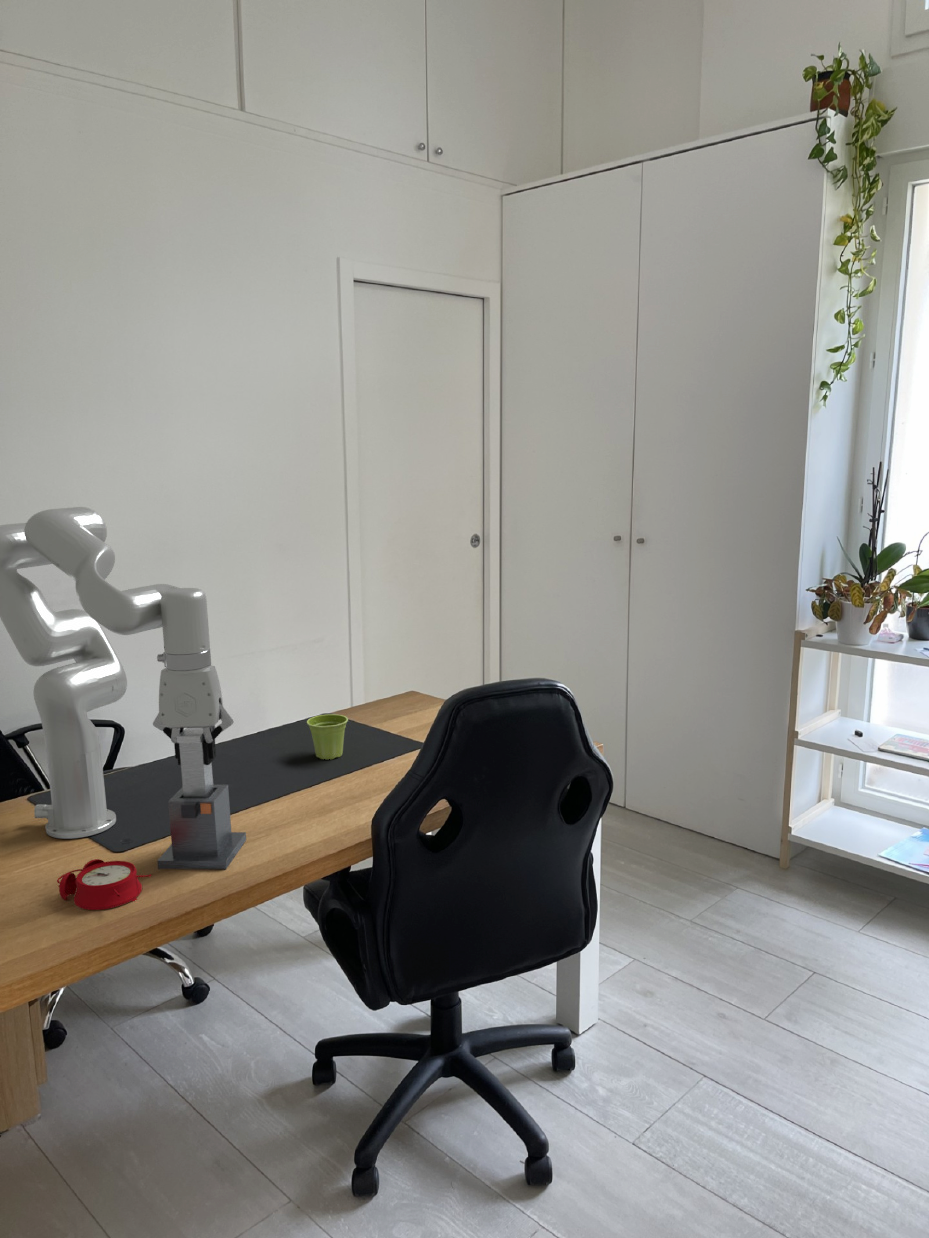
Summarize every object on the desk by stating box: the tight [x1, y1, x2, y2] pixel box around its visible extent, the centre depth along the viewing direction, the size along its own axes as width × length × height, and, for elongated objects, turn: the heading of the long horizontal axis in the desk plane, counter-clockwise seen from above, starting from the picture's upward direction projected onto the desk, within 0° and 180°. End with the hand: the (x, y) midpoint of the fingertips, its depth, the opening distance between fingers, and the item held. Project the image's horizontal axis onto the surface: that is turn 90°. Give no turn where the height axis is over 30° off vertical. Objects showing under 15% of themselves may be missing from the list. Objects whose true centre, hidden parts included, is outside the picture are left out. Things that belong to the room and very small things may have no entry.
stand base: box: [156, 784, 247, 870], centre depth 165 cm, size 12×12×12 cm
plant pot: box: [306, 713, 349, 760], centre depth 217 cm, size 9×9×9 cm
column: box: [177, 728, 214, 798], centre depth 164 cm, size 4×6×21 cm
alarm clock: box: [56, 858, 152, 911], centre depth 152 cm, size 10×6×15 cm
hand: (196, 761), depth 163 cm, fingers closed on column, 4 cm apart
